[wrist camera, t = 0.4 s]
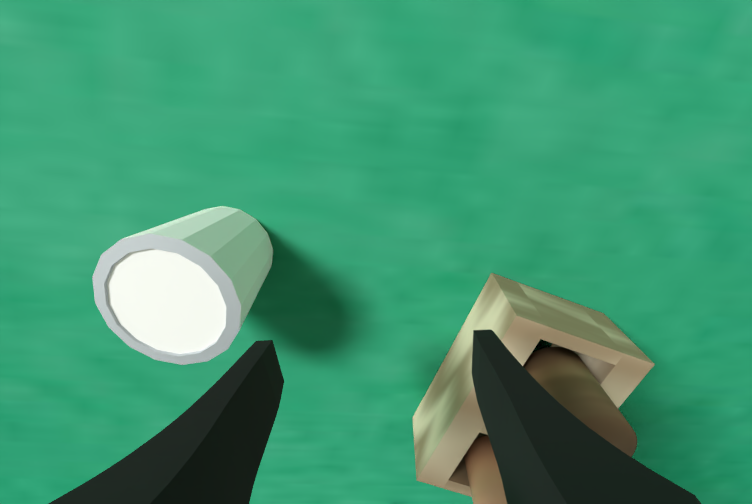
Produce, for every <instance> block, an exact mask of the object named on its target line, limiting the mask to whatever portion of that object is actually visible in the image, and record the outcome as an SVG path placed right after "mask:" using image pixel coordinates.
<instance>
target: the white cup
mask: <svg viewBox="0 0 752 504" xmlns="http://www.w3.org/2000/svg"><path fill="white" fill-rule="evenodd" d="M272 257H273V248H272V245H271V242H270V238H269V235H268V233H267V232H266V231H265V229H264V228H263V227H262V226H261V224H260V223H259V222H258V221H257V220H256V219H255V218H253V217H252V216H250V215H248V214H247V213H245V212H243V211H242V210H240V209H235V208H230V207H225V206H219V207H214V208H209V209H205V210H202V211H199V212H196V213H193V214H191V215H188V216H185V217H182V218H179V219H176V220H174V221H171V222H168V223H165V224H162V225H160V226H157V227H154V228H151V229H148V230H146V231H143V232H140V233H137V234H134V235H131V236H129V237H126V238H123V239H121V240H120V241H118V242H117V243H116V244H115V245H113V246H112V247H111V248H109V249H108V250H107V251H105V252H104V253H103V254H102V255H101V257H100V259H99V262H98V264H97V267H96V269H95V272H94V275H93V277H92V278H93V287H94V296H95V303H96V305H97V307H98V309H99V311H100V312H101V314H102V316H103V318H104V320H105V321H106V323H107V325H108V327H109V328H110V329H111V330H112V331H113V332H114V333H116V334H117V335H118V336H119V337H120V338H121V339H122V340H123V341H124V342H125V343H126V344H127V345H128V346H129V347H131V348H133V349H135V350H137V351H139V352H141V353H143V354H145V355H147V356H149V357H151V358H153V359H155V360H159V361H165V362H170V363H175V364H181V365H185V364H192V363H199V362H206V361H209V360H210V359H212V358H214V357H215V356H217V355H219V354H220V353H222V352H224V351H225V350H227V349H228V348H229V346H230V345H231V343H232V341H233V340H234V338H235V336H236V335H237V333H238V332H239V330H240V328H241V326H242V324H243V322H244V320H245V318H246V316H247V314H248V312H249V310H250V308H251V306H252V304H253V302H254V300H255V298H256V296H257V294H258V292H259V290H260V288H261V286H262V284H263V282H264V280H265V278H266V276H267V274H268V272H269V270H270V268H271V266H272Z"/></svg>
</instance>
